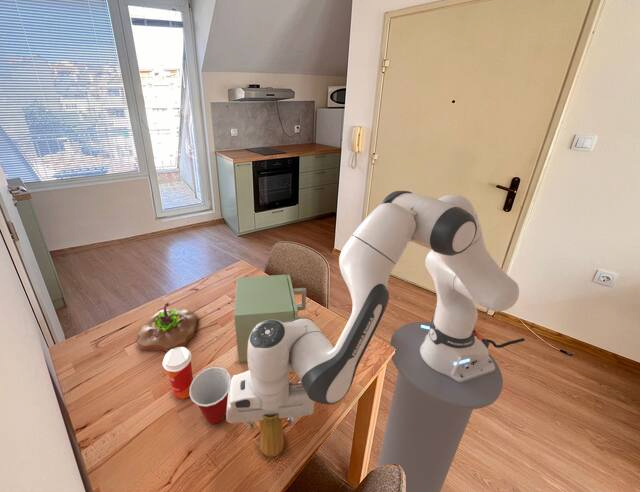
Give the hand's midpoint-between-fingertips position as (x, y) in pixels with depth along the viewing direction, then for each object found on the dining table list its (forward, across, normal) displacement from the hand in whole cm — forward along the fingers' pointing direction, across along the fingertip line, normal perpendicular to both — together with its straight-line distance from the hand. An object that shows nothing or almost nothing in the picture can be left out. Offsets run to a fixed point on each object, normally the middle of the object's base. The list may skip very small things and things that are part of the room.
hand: (270, 425), depth 70 cm
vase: (+8, 0, 0) cm, 8 cm away
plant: (+8, +35, -42) cm, 55 cm away
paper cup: (+8, +25, -17) cm, 31 cm away
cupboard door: (+7, -13, -35) cm, 38 cm away
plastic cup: (+8, +15, -9) cm, 19 cm away
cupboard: (+7, 0, -35) cm, 36 cm away
